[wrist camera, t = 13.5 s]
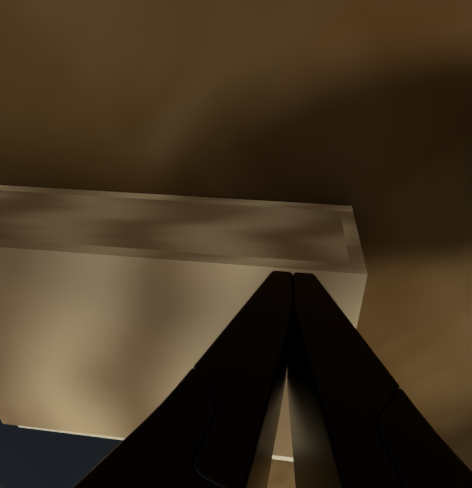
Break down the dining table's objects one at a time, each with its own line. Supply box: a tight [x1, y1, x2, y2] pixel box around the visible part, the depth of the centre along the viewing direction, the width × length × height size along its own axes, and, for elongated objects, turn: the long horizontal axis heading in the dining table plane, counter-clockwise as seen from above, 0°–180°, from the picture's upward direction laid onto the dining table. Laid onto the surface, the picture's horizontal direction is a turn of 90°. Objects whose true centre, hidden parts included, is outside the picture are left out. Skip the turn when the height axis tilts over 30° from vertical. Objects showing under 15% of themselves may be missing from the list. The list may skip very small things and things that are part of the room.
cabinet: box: [0, 185, 368, 457], centre depth 23 cm, size 18×12×6 cm, turn 90°
